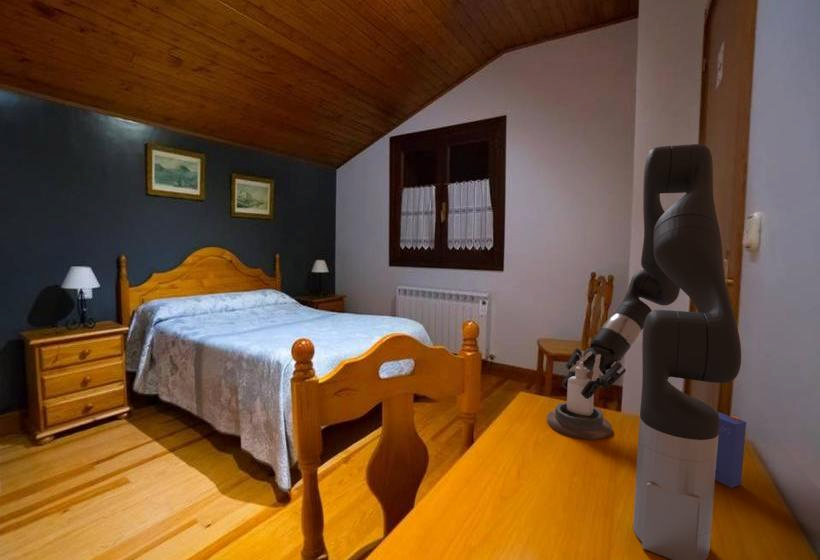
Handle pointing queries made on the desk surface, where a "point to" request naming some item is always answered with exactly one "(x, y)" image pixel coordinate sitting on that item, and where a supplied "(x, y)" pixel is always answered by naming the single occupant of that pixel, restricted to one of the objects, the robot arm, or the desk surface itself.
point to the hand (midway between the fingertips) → (574, 391)
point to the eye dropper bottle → (579, 393)
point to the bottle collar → (579, 423)
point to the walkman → (730, 450)
